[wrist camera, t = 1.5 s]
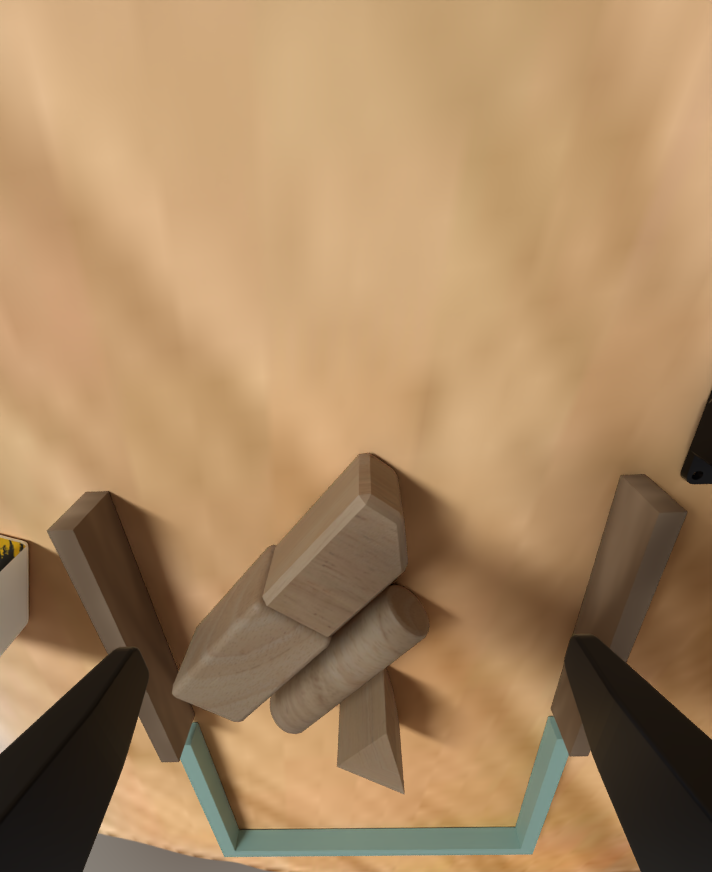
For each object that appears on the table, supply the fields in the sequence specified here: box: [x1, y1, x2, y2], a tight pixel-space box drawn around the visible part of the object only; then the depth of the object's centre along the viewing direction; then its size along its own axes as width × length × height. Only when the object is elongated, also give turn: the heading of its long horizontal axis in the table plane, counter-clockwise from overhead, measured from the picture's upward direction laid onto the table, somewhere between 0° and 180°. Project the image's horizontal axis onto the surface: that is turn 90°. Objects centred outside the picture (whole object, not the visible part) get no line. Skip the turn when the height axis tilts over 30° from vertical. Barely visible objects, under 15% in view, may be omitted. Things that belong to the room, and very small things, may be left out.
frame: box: [180, 717, 569, 857], centre depth 34 cm, size 28×19×2 cm
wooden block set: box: [172, 453, 429, 794], centre depth 24 cm, size 17×6×18 cm
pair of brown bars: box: [47, 475, 687, 762], centre depth 24 cm, size 28×20×3 cm
